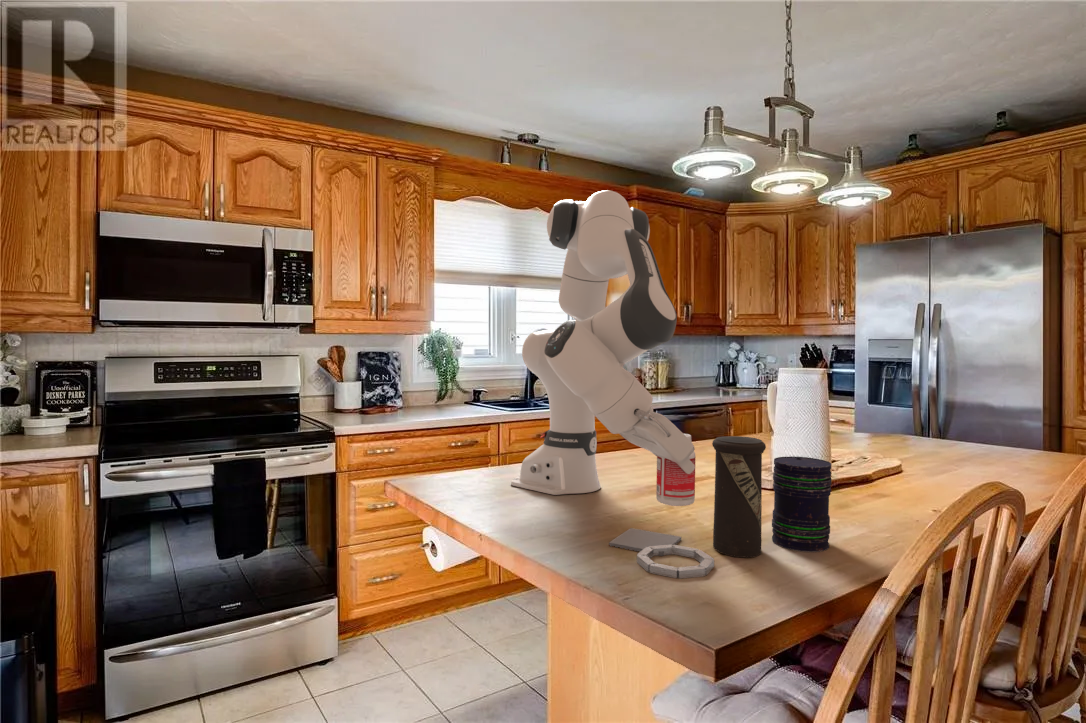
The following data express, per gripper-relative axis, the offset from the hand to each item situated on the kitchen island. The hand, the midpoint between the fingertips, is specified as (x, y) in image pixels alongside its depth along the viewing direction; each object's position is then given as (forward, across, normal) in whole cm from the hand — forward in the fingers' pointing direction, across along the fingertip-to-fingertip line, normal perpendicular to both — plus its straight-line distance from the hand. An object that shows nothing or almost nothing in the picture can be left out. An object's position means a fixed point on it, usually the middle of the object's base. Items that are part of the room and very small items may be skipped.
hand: (679, 465), depth 102 cm
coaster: (+11, +11, +12) cm, 20 cm away
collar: (+11, 0, +12) cm, 16 cm away
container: (+21, +4, +2) cm, 21 cm away
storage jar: (+30, +4, -7) cm, 32 cm away
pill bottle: (+4, 0, +5) cm, 6 cm away
